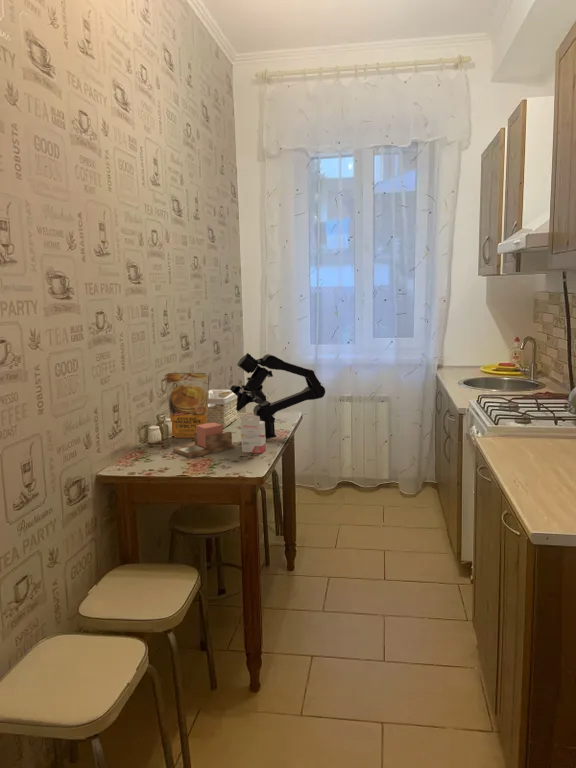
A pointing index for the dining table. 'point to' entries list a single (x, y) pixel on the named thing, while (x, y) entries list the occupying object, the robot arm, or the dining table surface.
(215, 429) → the block
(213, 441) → the chute
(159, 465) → the dining table surface
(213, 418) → the storage basket
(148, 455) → the dining table surface
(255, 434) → the ink cartridge box
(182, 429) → the pancake mix bag
